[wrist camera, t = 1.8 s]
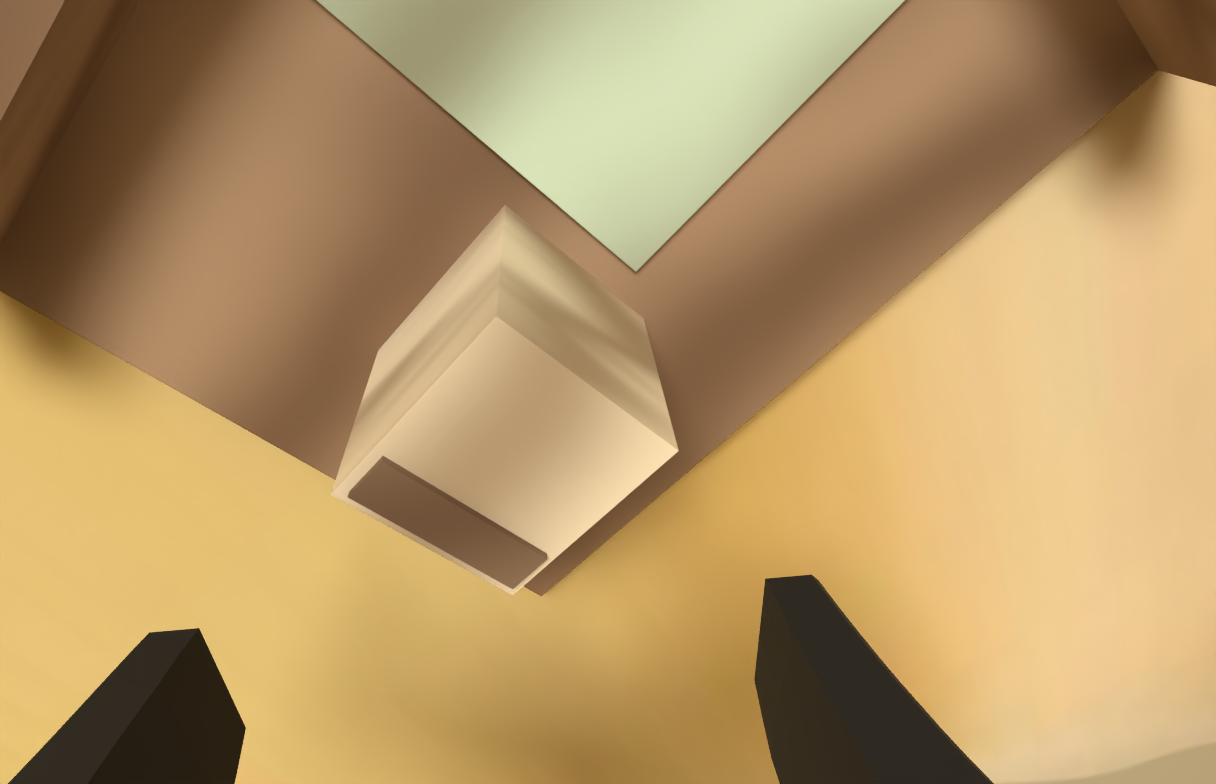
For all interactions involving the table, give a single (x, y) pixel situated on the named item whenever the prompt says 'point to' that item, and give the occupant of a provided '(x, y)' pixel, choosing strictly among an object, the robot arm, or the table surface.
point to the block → (507, 410)
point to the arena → (526, 175)
